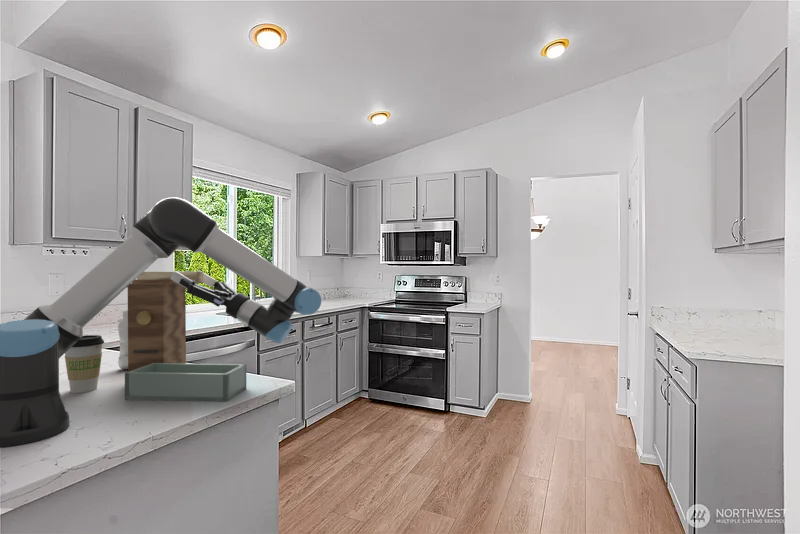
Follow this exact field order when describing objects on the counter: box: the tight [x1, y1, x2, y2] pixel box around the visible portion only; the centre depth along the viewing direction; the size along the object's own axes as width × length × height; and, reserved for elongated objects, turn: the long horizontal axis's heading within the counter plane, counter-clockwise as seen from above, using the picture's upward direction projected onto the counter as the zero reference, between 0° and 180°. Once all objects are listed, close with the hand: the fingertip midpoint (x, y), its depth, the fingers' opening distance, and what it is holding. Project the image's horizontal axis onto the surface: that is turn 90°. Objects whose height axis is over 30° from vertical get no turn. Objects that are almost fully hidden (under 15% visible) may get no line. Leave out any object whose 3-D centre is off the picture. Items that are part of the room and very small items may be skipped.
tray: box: [124, 362, 247, 402], centre depth 123 cm, size 12×28×7 cm, turn 86°
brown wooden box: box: [126, 279, 187, 372], centre depth 138 cm, size 14×12×31 cm
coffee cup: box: [64, 334, 105, 394], centre depth 127 cm, size 10×10×15 cm
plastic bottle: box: [117, 309, 128, 370], centre depth 152 cm, size 6×7×20 cm
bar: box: [136, 270, 204, 285], centre depth 137 cm, size 4×20×4 cm, turn 80°
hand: (185, 274), depth 137 cm, fingers open, 13 cm apart
